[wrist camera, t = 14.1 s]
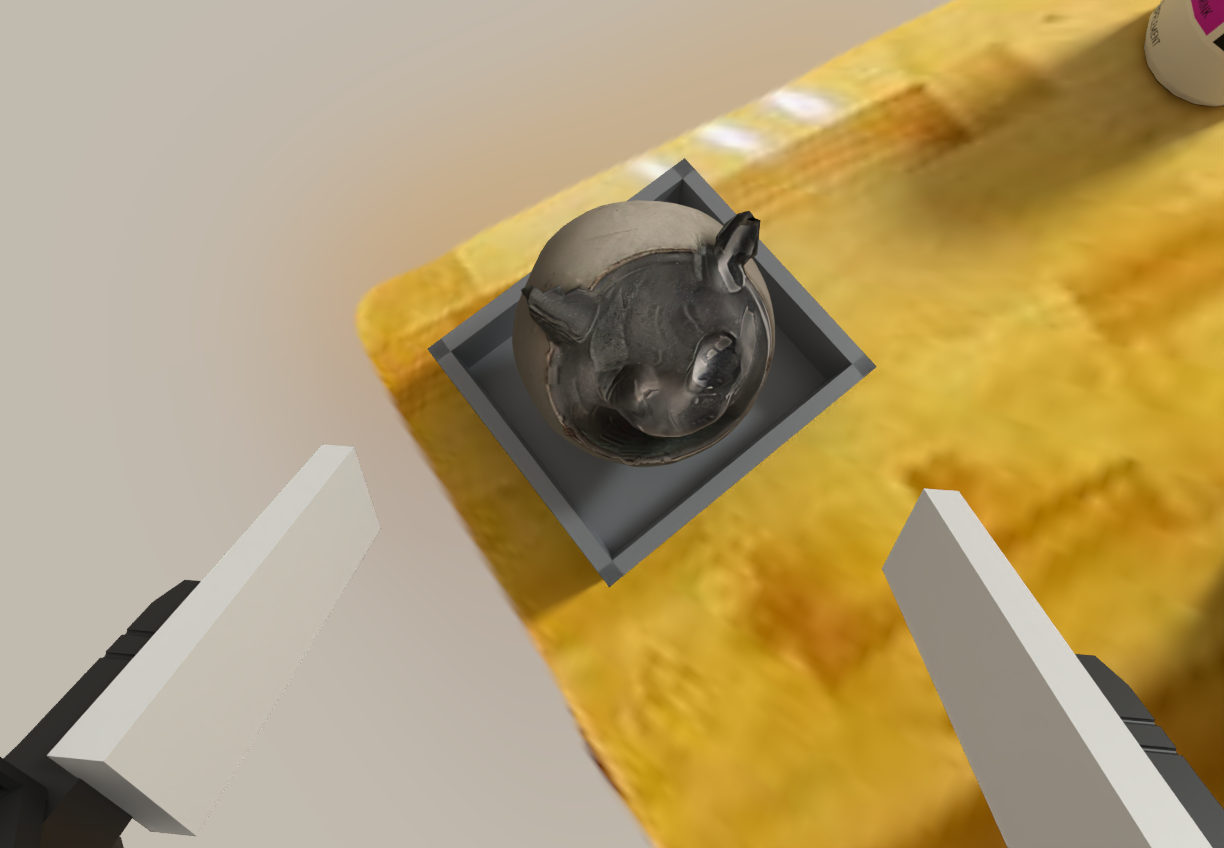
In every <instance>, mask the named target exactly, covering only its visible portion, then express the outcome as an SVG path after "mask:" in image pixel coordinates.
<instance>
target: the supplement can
mask: <svg viewBox="0 0 1224 848" xmlns="http://www.w3.org/2000/svg"><path fill="white" fill-rule="evenodd" d="M1144 50H1145V55H1146V60H1147V65H1148V66H1149V68H1150V69H1151V71H1152V73H1153V74H1154V76H1155V77H1156V79H1157V81H1158V82H1159V83H1161V84H1162V85H1163V86H1164V87H1165V88H1166V89H1168V90H1169V91H1170V92H1171V93H1172V94H1174V95H1175V96H1178V97H1180V98H1182V99H1184V100H1187V101H1189V102H1191V103H1194V104H1199V105H1207V106H1214V107H1217V106H1223V105H1224V0H1162V1H1161V2H1160V4H1159V5H1158V6H1157V8H1156V9H1155V10H1154V11H1153V13H1152V14H1151V15H1150V19H1149V23H1148V27H1147V32H1146V40H1145V45H1144Z"/></svg>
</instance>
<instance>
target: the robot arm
mask: <svg viewBox="0 0 1224 848" xmlns="http://www.w3.org/2000/svg"><path fill="white" fill-rule="evenodd" d="M380 529H381V528H380V525H379V521H378V518H377V516H376V512H375V509H374V506H373V503H372V500H371V497H370V494H369V491H368V488H367V484H366V481H365V478H364V475H363V472H362V469H361V466H360V463H359V460H358V457H357V454H356V451H355V447H351V446H337V445H324V444H323V445H322V446H321V447H320V448H319V449H318V450H317V451H316V452H315V453H314V455H313V456H312V457H311V458H310V459H309V460H308V461H307V463H306V464H305V465H304V466H303V467H302V468H301V469H300V470H299V472H298V473H297V474H296V475H295V476H294V477H293V478H292V480H291V481H290V482H289V483H288V484H287V485H286V486H285V487H284V489H283V490H282V491H281V492H280V493H279V494H278V495H277V496H276V497H275V499H274V500H273V501H272V502H271V503H270V504H269V505H268V507H267V508H266V509H265V510H264V511H263V512H262V513H261V515H260V516H259V517H258V518H257V519H256V520H255V521H254V523H252V525H251V526H250V527H249V528H248V529H247V530H246V531H245V533H244V534H243V535H242V536H241V537H240V538H239V539H238V541H236V543H235V544H234V545H233V546H232V547H231V548H230V549H229V551H228V552H227V553H226V554H225V555H224V556H223V557H222V558H221V560H220V561H219V562H218V563H217V564H216V565H215V566H214V567H213V569H212V570H211V571H210V572H209V573H208V574H207V575H206V576H205V578H204V579H203V580H202V581H191V580H184V581H182V582H181V583H180V584H178V585H177V586H175V587H174V588H172V589H171V590H169V591H168V592H167V593H165V594H164V595H162V596H161V597H159V598H158V599H156V600H155V601H154V602H152V603H151V604H150V605H149V606H148V608H147V609H146V610H145V611H144V612H143V613H142V614H141V615H140V616H139V617H138V618H137V619H136V620H135V621H134V622H133V623H132V625H131V626H130V627H129V628H128V629H127V633H126V634H125V635H121V636H120V637H119V638H118V640H116V641H115V643H114V644H113V645H112V646H111V647H110V648H109V649H108V650H107V651H106V655H105V657H103V658H99V660H98V661H97V662H96V663H95V664H94V665H93V666H92V667H91V668H90V669H89V670H88V671H87V673H85V674H84V675H83V677H82V678H81V679H80V680H79V681H78V682H77V683H76V684H75V685H74V686H73V687H72V688H71V689H70V690H69V691H68V692H67V693H66V695H65V696H64V697H63V698H62V699H61V700H60V701H59V702H58V703H57V704H56V705H55V706H54V707H53V708H52V709H51V710H50V711H49V713H48V714H47V715H46V716H45V717H44V718H43V719H42V720H41V721H40V722H39V723H38V724H37V725H36V727H34V729H33V730H32V731H31V732H30V733H29V734H28V735H27V736H26V737H25V738H24V739H23V740H22V741H21V742H20V743H19V744H18V745H17V747H15V748H14V749H13V750H12V751H11V752H10V753H9V754H8V755H7V756H6V757H5V758H4V759H3V758H1V757H0V848H123V844H122V840H121V837H119V836H120V835H121V833H122V832H123V830H124V829H125V827H126V826H127V825H128V823H129V822H130V820H131V819H132V818H133V819H134V820H136V821H137V822H138V823H140V824H141V825H143V826H144V827H145V828H147V829H148V830H149V831H151V832H160V833H170V834H179V835H189V836H197V835H198V834H199V832H200V830H201V829H202V827H203V825H204V823H205V822H206V820H207V818H208V817H209V815H210V813H211V812H212V810H213V808H214V807H215V805H216V803H217V802H218V800H219V798H220V797H221V795H222V793H223V791H224V790H225V788H226V787H227V785H228V783H229V782H230V780H231V778H232V777H233V775H234V773H235V772H236V770H237V768H238V767H239V765H240V763H241V762H242V760H243V758H244V757H245V755H246V753H247V751H248V750H249V748H250V747H251V745H252V743H253V741H254V740H255V738H256V737H257V735H258V733H259V732H260V730H261V728H262V726H263V725H264V723H265V721H266V720H267V718H268V716H269V715H270V713H271V711H272V710H273V708H274V706H275V705H276V703H277V701H278V700H279V698H280V696H281V695H282V693H283V691H284V690H285V688H286V686H287V685H288V683H289V681H290V680H291V677H292V676H293V675H294V673H295V671H296V670H297V668H298V666H299V665H300V663H301V661H302V660H303V658H304V656H305V654H306V653H307V651H308V649H309V648H310V646H311V645H312V643H313V641H314V640H315V638H316V636H317V635H318V633H319V631H320V629H321V628H322V626H323V624H324V623H325V621H326V619H327V618H328V616H329V614H330V613H331V611H332V609H333V608H334V606H335V604H336V603H337V601H338V599H339V598H340V596H341V594H342V593H343V591H344V589H345V588H346V586H347V584H348V583H349V581H350V579H351V577H352V576H353V574H354V573H355V571H356V569H357V568H358V566H359V564H360V562H361V561H362V559H363V557H364V556H365V554H366V552H367V551H368V549H369V547H370V546H371V544H372V543H373V541H374V539H375V538H376V536H377V534H378V533H379V531H380ZM882 570H883V572H884V574H885V576H886V578H887V581H888V583H889V585H890V587H891V590H892V592H893V594H894V596H895V599H896V601H897V603H898V605H899V607H900V610H901V612H902V614H903V616H904V619H905V621H906V623H907V625H908V627H909V630H910V632H911V634H912V636H913V639H914V641H915V643H916V645H917V647H918V650H919V652H920V654H921V656H922V659H923V661H924V663H925V665H926V667H927V670H928V672H929V674H930V676H931V679H932V681H933V683H934V685H935V687H936V690H937V692H938V694H939V696H940V699H941V701H942V703H943V705H944V707H945V710H946V712H947V714H948V716H949V719H950V721H951V723H952V725H953V727H954V730H955V732H956V734H957V736H958V739H959V741H960V743H961V745H962V747H963V750H964V752H965V754H966V756H967V759H968V761H969V763H970V765H971V767H972V770H973V772H974V774H975V776H976V779H977V781H978V783H979V785H980V787H981V790H982V792H983V794H984V796H985V799H986V801H987V803H988V805H989V807H990V810H991V812H992V814H993V816H994V819H995V821H996V823H997V825H998V827H999V830H1000V832H1001V834H1002V836H1003V839H1004V841H1005V843H1006V845H1007V847H1008V848H1224V810H1223V808H1222V807H1221V806H1220V804H1219V803H1218V802H1217V800H1216V799H1215V798H1214V797H1213V795H1212V794H1211V793H1210V791H1209V790H1208V789H1207V787H1206V786H1205V785H1204V783H1203V782H1202V781H1201V780H1200V778H1199V777H1198V776H1197V774H1196V773H1195V772H1194V770H1193V769H1192V768H1191V766H1190V765H1189V764H1188V762H1187V761H1186V760H1185V759H1184V757H1183V756H1182V755H1178V754H1177V752H1176V747H1175V745H1174V744H1173V743H1172V742H1171V740H1170V739H1169V738H1168V736H1167V735H1166V734H1165V732H1164V731H1163V730H1162V728H1161V727H1160V726H1156V725H1155V723H1154V720H1155V719H1154V718H1153V717H1152V715H1151V714H1150V713H1149V711H1148V710H1147V709H1146V708H1145V706H1144V705H1143V704H1142V702H1141V701H1140V700H1139V698H1138V697H1137V696H1136V694H1135V693H1134V692H1133V690H1132V689H1131V688H1130V687H1129V685H1128V684H1126V683H1125V682H1124V681H1123V680H1122V679H1121V678H1120V677H1118V676H1117V675H1116V674H1115V673H1114V672H1113V671H1112V670H1110V669H1109V668H1108V667H1107V666H1106V665H1105V664H1104V663H1102V662H1101V661H1100V660H1099V659H1098V658H1097V657H1096V656H1092V655H1080V654H1074V652H1073V651H1072V650H1071V648H1070V647H1069V645H1068V644H1067V643H1066V641H1065V640H1064V638H1063V637H1062V636H1061V634H1060V633H1059V631H1058V630H1057V629H1056V627H1055V626H1054V624H1053V623H1052V622H1051V620H1050V619H1049V617H1048V616H1047V615H1046V613H1045V612H1044V610H1043V609H1042V608H1041V606H1040V605H1039V603H1038V602H1037V601H1036V599H1035V598H1034V596H1033V595H1032V594H1031V592H1030V591H1029V589H1028V588H1027V587H1026V585H1025V584H1024V582H1023V581H1022V579H1021V578H1020V577H1019V575H1018V574H1017V572H1016V571H1015V570H1014V568H1013V567H1012V565H1011V564H1010V563H1009V561H1008V560H1007V558H1006V557H1005V556H1004V554H1003V553H1002V551H1001V550H1000V549H999V547H998V546H997V544H996V543H995V542H994V540H993V539H992V537H991V536H990V535H989V533H988V532H987V530H986V529H985V528H984V526H983V525H982V523H981V522H980V521H979V519H978V518H977V516H976V515H975V514H974V512H973V511H972V509H971V508H970V507H969V505H968V504H967V502H966V501H965V500H964V498H963V497H962V495H961V494H960V492H959V491H949V490H936V489H923V491H922V493H921V495H920V497H919V499H918V501H917V503H916V504H915V506H914V508H913V510H912V512H911V514H910V516H909V518H908V520H907V522H906V524H905V526H904V527H903V529H902V531H901V533H900V535H899V537H898V539H897V541H896V543H895V545H894V547H893V548H892V550H891V552H890V554H889V556H888V558H887V560H886V562H885V564H884V566H883V568H882Z"/></svg>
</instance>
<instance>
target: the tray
mask: <svg viewBox="0 0 1224 848" xmlns="http://www.w3.org/2000/svg"><path fill="white" fill-rule="evenodd" d="M636 200H641V201H660V202H669V203H675V204H679V205H683V206H687V207H690V208H693V209H697V210H699V211H701V212H703V213H705V214H707V215H709V216H710V217H712V218H713V219H715V220H716V221H717V222H719V223H720V224H721V225H722V226H724V224H725V223H726V222H727V221H729V220H730V219H731V218H733V217H734V216H735V215H736V214H735V212H734V211H733V210H732V209H731V208H730V207H729V206H728V205H727V204H726V203H725V202H724V201H723V199H722V198H721V197H720V196H719V195H718V194H717V193H716V192H715V191H714V190H713V189H712V187H711V186H710V185H709V184H708V183H707V182H706V181H705V180H704V179H703V178H702V177H701V176H700V174H699V173H698V172H697V171H696V170H695V169H694V168H693V167H692V166H691V165H690V164H689V163H688V161H687V160H686V159H685V158H684V159H683V160H682V161H680V162H679V163H678V164H676V165H675V166H674V167H672V168H671V169H670V170H668V171H667V172H665V173H664V174H663V175H661V176H660V177H659V178H657V179H656V180H655V181H653V182H652V183H651V184H649V185H648V186H647V187H645V188H644V189H643V190H641V191H640V192H638V193H637V194H636V195H634V196H633V197H632V198H630V199H629V200H628V201H636ZM626 202H627V201H626ZM752 259H753V261H754V262H755V264H756V265H757V267H758V269H759V271H760V273H761V275H762V277H763V279H764V281H765V284H766V286H767V289H768V292H769V295H770V299H771V303H772V308H773V314H774V321H775V347H774V353H773V358H772V362H771V366H770V369H769V373H768V376H767V378H766V381H765V383H764V386H763V388H762V390H761V392H760V394H759V395H758V397H757V399H756V401H755V402H754V405H753V406H752V408H751V410H750V411H749V412H748V414H747V415H746V416H745V417H744V419H743V420H742V421H741V422H740V423H739V424H738V426H737V427H736V428H735V429H734V430H732V431H731V432H730V433H729V434H728V435H727V436H726V437H725V438H723V439H722V440H721V441H720V442H718V443H717V444H715V445H714V446H712V447H710V448H708V449H707V450H705V451H703V452H700V453H698V454H696V455H694V456H692V457H689V458H687V459H684V460H681V461H679V462H676V463H673V464H668V465H662V466H653V467H633V466H628V465H624V464H620V463H616V462H612V461H608V460H604V459H601V458H598V457H595V456H593V455H590V454H589V453H587V452H585V451H583V450H581V449H579V448H578V447H576V446H574V445H573V444H571V443H570V442H568V441H567V440H565V439H564V438H562V437H561V436H560V435H559V434H557V433H556V432H555V431H554V430H553V429H552V428H551V427H550V426H549V425H548V424H547V422H546V421H545V420H544V418H543V417H542V415H541V414H540V412H539V411H538V409H537V407H536V406H535V404H534V402H533V400H532V399H531V397H530V395H529V393H528V391H527V389H526V387H525V385H524V383H523V381H522V379H521V376H520V374H519V372H518V369H517V366H516V362H515V358H514V353H513V346H512V335H513V325H514V317H515V311H516V307H517V304H518V302H519V299H520V297H521V294H522V292H521V289H523V288H524V287H525V285H526V283H527V281H528V278H529V276H530V274H531V272H530V273H529V274H528V275H526V276H525V277H524V278H522V279H521V280H520V281H518V282H517V283H516V284H514V285H513V286H512V287H510V288H509V289H508V290H506V291H505V292H503V293H502V294H501V295H499V296H498V297H497V298H495V299H494V300H493V301H491V302H490V303H489V304H487V305H486V306H485V307H483V308H482V309H481V310H479V311H478V312H476V313H475V314H474V315H472V316H471V317H470V318H468V319H467V320H466V321H464V322H463V323H462V324H460V325H459V326H458V327H456V328H455V329H454V330H452V331H451V332H449V333H448V334H447V335H445V336H444V337H443V338H441V339H440V340H439V341H437V342H436V343H435V344H433V345H432V346H431V347H429V348H428V350H429V352H430V353H431V354H432V356H433V357H434V358H435V359H436V361H437V362H438V363H439V365H440V366H441V367H442V369H443V370H444V371H445V373H446V374H447V375H448V377H449V378H450V379H451V380H452V382H453V383H454V384H455V386H456V387H457V388H458V390H459V391H460V392H461V394H462V395H463V396H464V397H465V399H466V400H467V401H468V403H469V404H470V405H471V407H472V408H473V409H474V411H475V412H476V413H477V414H478V416H479V417H480V418H481V420H482V421H483V422H484V424H485V425H486V426H487V428H488V429H489V430H490V432H491V433H492V434H493V435H494V437H495V438H496V439H497V441H498V442H499V443H500V445H501V446H502V447H503V449H504V450H505V451H506V452H507V454H508V455H509V456H510V458H511V459H512V460H513V462H514V463H515V464H516V466H517V467H518V468H519V470H520V471H521V472H522V473H523V475H524V476H525V477H526V479H527V480H528V481H529V483H530V484H531V485H532V487H533V488H534V489H535V490H536V492H537V493H538V494H539V496H540V497H541V498H542V500H543V501H544V502H545V504H546V505H547V506H548V507H549V509H550V510H551V511H552V513H553V514H554V515H555V517H556V518H557V519H558V521H559V522H560V523H561V525H562V526H563V527H564V528H565V530H566V531H567V532H568V534H569V535H570V536H571V538H572V539H573V540H574V542H575V543H576V544H577V545H578V547H579V548H580V549H581V551H582V552H583V553H584V555H585V556H586V557H587V559H588V560H589V561H590V563H591V564H592V565H593V566H594V568H595V569H596V570H597V572H598V573H599V574H600V576H601V577H602V578H603V580H604V581H605V582H606V583H607V585H608V586H609V587H610V586H611V585H612V584H614V583H615V582H616V581H617V580H619V579H620V578H621V577H622V576H623V575H625V574H626V573H627V572H628V571H629V570H631V569H632V568H633V567H634V566H636V565H637V564H638V563H639V562H640V561H642V560H643V559H644V558H645V557H646V556H648V555H649V554H650V553H651V552H653V551H654V550H655V549H656V548H657V547H659V546H660V545H661V544H662V543H663V542H665V541H666V540H667V539H668V538H669V537H671V536H672V535H673V534H674V533H676V532H677V531H678V530H679V529H680V528H682V527H683V526H684V525H685V524H686V523H688V522H689V521H690V520H691V519H693V518H694V517H695V516H696V515H697V514H699V513H700V512H701V511H702V510H703V509H705V508H706V507H707V506H708V505H710V504H711V503H712V502H713V501H714V500H716V499H717V498H718V497H719V496H720V495H722V494H723V493H724V492H725V491H727V490H728V489H729V488H730V487H731V486H733V485H734V484H735V483H736V482H737V481H739V480H740V479H741V478H742V477H744V476H745V475H746V474H747V473H748V472H750V471H751V470H752V469H753V468H754V467H756V466H757V465H758V464H759V463H761V462H762V461H763V460H764V459H765V458H767V457H768V456H769V455H770V454H771V453H773V452H774V451H775V450H776V449H777V448H779V447H780V446H781V445H782V444H784V443H785V442H786V441H787V440H788V439H790V438H791V437H792V436H793V435H794V434H796V433H797V432H798V431H799V430H801V429H802V428H803V427H804V426H805V425H807V424H808V423H809V422H810V421H811V420H813V419H814V418H815V417H816V416H818V415H819V414H820V413H821V412H822V411H824V410H825V409H826V408H827V407H828V406H830V405H831V404H832V403H833V402H835V401H836V400H837V399H838V398H839V397H841V396H842V395H843V394H844V393H845V392H847V391H848V390H849V389H850V388H852V387H853V386H854V385H855V384H856V383H858V382H859V381H860V380H861V379H862V378H864V377H865V376H866V375H867V374H869V373H870V372H871V371H872V370H873V369H875V368H876V366H875V365H874V363H873V362H872V361H871V360H870V359H869V358H868V357H867V356H866V355H865V354H864V353H863V351H862V350H861V349H860V348H859V347H858V346H857V345H856V344H855V343H854V342H853V341H852V340H851V338H850V337H849V336H848V335H847V334H846V333H845V332H844V331H843V330H842V329H841V328H840V326H839V325H838V324H837V323H836V322H835V321H834V320H833V319H832V318H831V317H830V316H829V315H828V313H827V312H826V311H825V310H824V309H823V308H822V307H821V306H820V305H819V304H818V303H817V302H816V300H815V299H814V298H813V297H812V296H811V295H810V294H809V293H808V292H807V291H806V290H805V288H804V287H803V286H802V285H801V284H800V283H799V282H798V281H797V280H796V279H795V278H794V277H793V275H792V274H791V273H790V272H789V271H788V270H787V269H786V268H785V267H784V266H783V265H782V264H781V262H780V261H779V260H778V259H777V258H776V257H775V256H774V255H773V254H772V253H771V252H770V250H769V249H768V248H767V247H766V246H765V245H764V244H763V243H762V242H761V241H760V240H759V242H758V252H757V255H756V256H755V257H754V258H752Z"/></svg>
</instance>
